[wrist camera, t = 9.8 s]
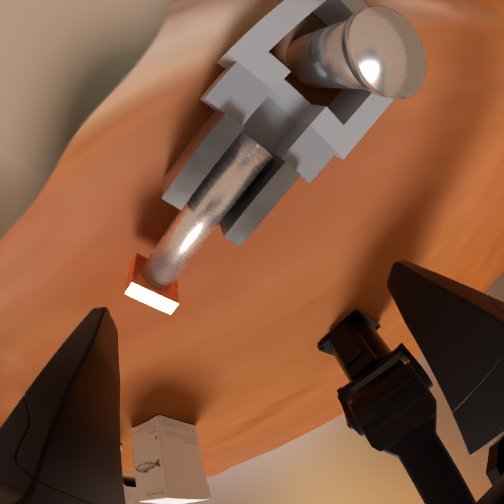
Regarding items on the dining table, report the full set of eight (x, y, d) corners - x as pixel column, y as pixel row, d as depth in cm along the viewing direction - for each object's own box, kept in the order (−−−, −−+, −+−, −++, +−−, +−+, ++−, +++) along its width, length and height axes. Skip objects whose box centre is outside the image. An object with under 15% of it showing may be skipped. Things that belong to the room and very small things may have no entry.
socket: (385, 69, 16) (416, 71, 13) (294, 174, 19) (317, 190, 16) (304, -17, 11) (329, -33, 8) (189, 92, 14) (193, 90, 11)
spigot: (354, 64, 15) (437, 65, 9) (316, 104, 16) (395, 118, 10) (310, 19, 13) (386, -9, 6) (267, 59, 14) (331, 39, 8)
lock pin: (269, 155, 16) (289, 168, 14) (169, 283, 19) (170, 314, 16) (228, 123, 15) (241, 129, 12) (130, 263, 17) (124, 293, 15)
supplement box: (157, 413, 31) (169, 498, 20) (197, 425, 35) (213, 499, 24) (129, 427, 32) (136, 502, 21) (167, 438, 36) (179, 505, 26)
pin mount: (275, 157, 18) (301, 174, 14) (227, 216, 19) (240, 246, 16) (214, 110, 15) (225, 112, 12) (164, 176, 16) (161, 198, 13)
